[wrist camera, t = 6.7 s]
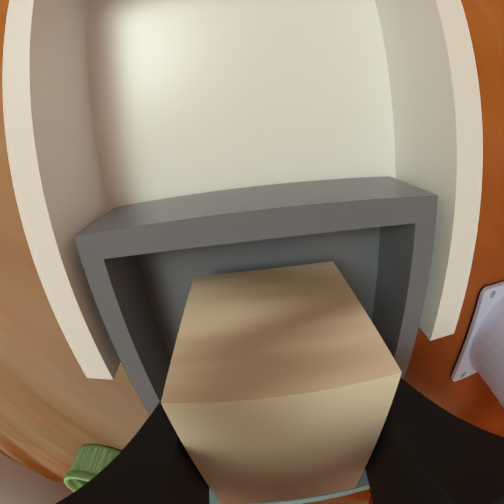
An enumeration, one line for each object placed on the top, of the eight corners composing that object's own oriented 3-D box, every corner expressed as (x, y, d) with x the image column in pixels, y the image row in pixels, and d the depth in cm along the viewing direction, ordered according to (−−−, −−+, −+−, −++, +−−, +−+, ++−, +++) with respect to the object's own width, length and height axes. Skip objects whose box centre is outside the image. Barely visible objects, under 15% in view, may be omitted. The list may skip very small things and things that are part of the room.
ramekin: (104, 477, 22) (96, 508, 18) (58, 433, 19) (44, 468, 15) (178, 485, 22) (174, 521, 18) (141, 444, 19) (131, 489, 15)
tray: (377, 409, 16) (404, 477, 11) (175, 434, 16) (165, 506, 11) (414, 175, 10) (512, 215, 5) (89, 212, 11) (3, 273, 5)
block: (332, 260, 9) (402, 372, 5) (326, 387, 12) (355, 487, 7) (193, 276, 9) (160, 402, 5) (223, 399, 12) (221, 504, 7)
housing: (416, 298, 14) (462, 351, 10) (113, 334, 14) (81, 397, 10) (394, -43, 7) (442, -81, 3) (56, -6, 7) (1, -35, 3)
